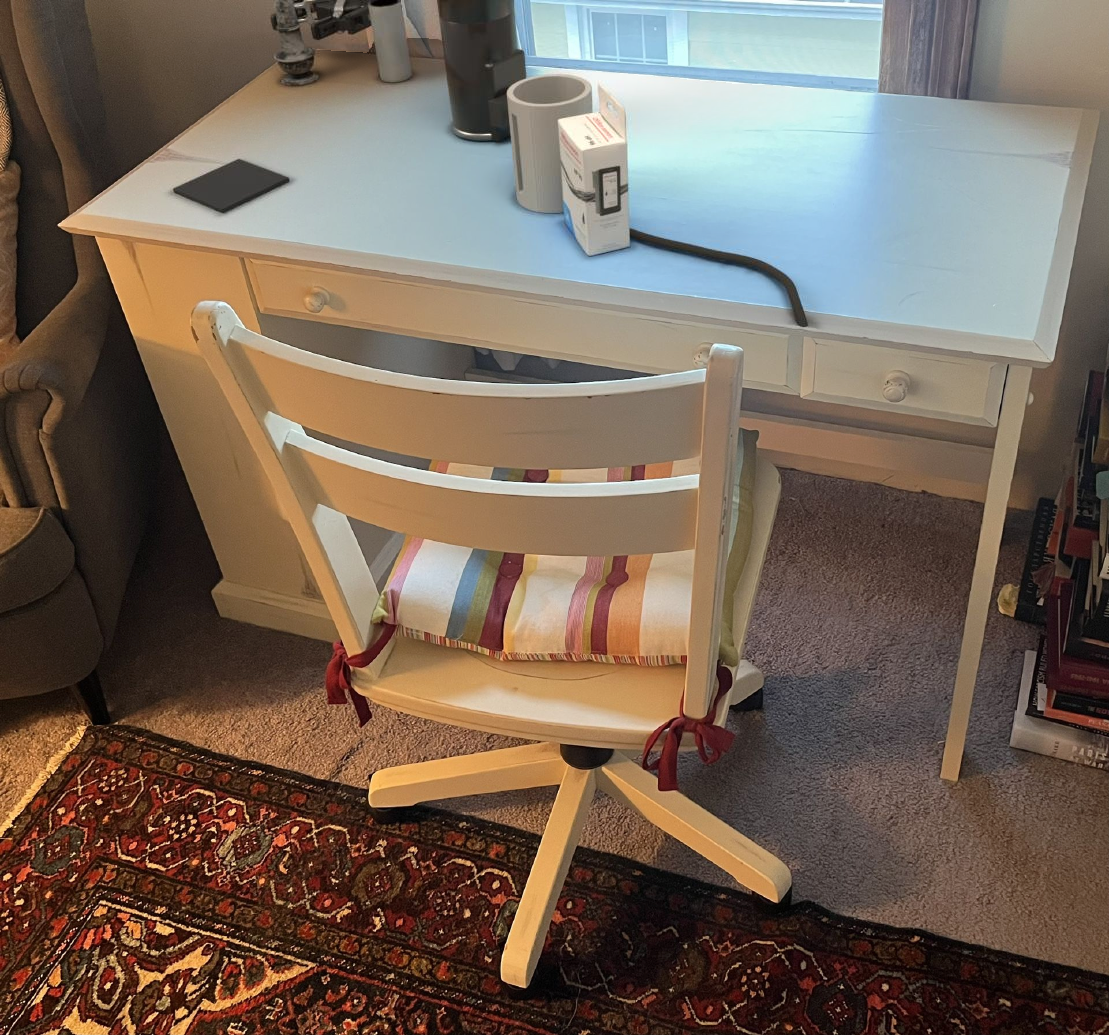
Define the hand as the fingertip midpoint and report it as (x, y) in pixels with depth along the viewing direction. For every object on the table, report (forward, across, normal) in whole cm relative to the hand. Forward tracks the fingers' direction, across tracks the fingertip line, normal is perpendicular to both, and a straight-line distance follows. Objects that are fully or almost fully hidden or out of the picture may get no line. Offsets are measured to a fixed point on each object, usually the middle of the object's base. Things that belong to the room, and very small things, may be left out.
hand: (293, 28), depth 154 cm
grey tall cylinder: (-7, +12, +7) cm, 16 cm away
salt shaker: (+1, 0, +7) cm, 7 cm away
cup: (+11, +55, +7) cm, 57 cm away
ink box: (+17, +65, +7) cm, 68 cm away
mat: (+30, +19, +7) cm, 36 cm away
